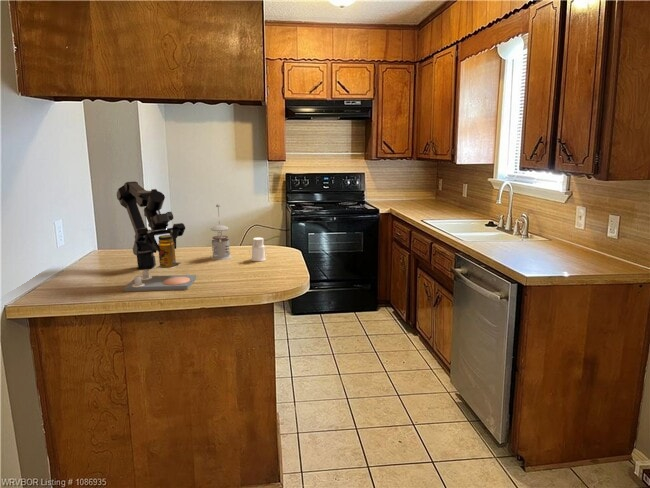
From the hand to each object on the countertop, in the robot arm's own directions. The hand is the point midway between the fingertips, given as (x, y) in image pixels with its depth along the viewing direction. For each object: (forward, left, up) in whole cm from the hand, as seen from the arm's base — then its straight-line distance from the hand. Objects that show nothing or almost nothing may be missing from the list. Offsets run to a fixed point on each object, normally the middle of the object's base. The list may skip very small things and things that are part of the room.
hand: (167, 249), depth 184 cm
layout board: (-2, -4, -13) cm, 14 cm away
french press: (+14, +37, -13) cm, 41 cm away
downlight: (+32, +30, -13) cm, 45 cm away
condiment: (0, +2, -7) cm, 7 cm away
